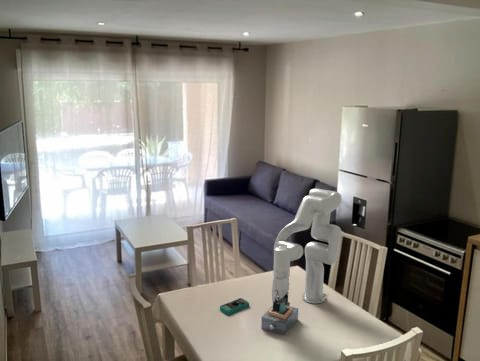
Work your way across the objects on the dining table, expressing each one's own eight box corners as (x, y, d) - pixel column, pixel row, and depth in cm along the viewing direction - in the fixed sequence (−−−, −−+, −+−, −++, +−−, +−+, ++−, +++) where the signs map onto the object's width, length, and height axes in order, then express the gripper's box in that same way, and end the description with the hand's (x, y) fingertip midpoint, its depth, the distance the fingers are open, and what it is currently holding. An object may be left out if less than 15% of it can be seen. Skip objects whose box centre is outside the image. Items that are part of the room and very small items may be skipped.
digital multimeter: (250, 307, 224) (250, 301, 224) (228, 316, 215) (228, 310, 215) (241, 301, 230) (241, 296, 229) (219, 310, 221) (219, 305, 220)
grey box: (275, 313, 217) (275, 299, 216) (297, 319, 212) (298, 305, 210) (259, 330, 202) (259, 315, 200) (283, 337, 196) (283, 322, 195)
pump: (277, 308, 210) (278, 295, 208) (290, 312, 206) (291, 299, 205) (273, 313, 205) (273, 300, 204) (286, 317, 202) (287, 303, 201)
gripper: (281, 264, 211) (280, 297, 215) (266, 277, 196) (265, 312, 200) (296, 267, 208) (294, 300, 211) (281, 281, 193) (280, 316, 196)
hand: (280, 306), depth 206 cm, fingers open, 9 cm apart
